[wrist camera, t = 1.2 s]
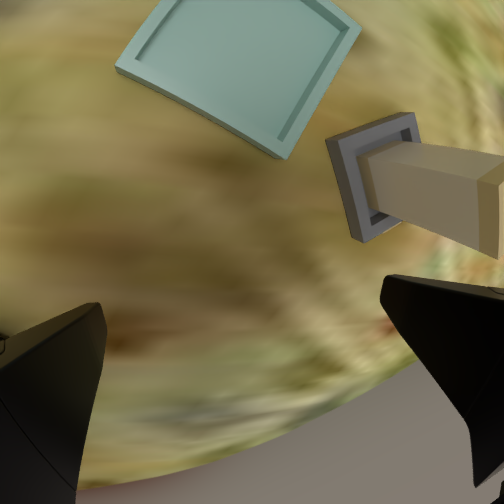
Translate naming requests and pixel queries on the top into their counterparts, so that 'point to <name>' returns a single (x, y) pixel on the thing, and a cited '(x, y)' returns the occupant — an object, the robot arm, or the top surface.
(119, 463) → the top surface
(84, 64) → the top surface
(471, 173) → the block
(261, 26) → the parts tray
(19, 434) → the robot arm
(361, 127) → the small gray square tray
